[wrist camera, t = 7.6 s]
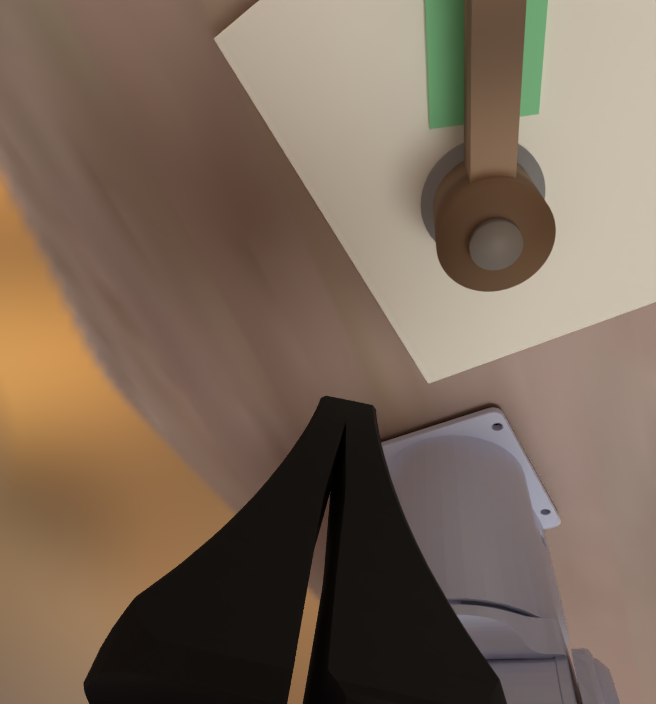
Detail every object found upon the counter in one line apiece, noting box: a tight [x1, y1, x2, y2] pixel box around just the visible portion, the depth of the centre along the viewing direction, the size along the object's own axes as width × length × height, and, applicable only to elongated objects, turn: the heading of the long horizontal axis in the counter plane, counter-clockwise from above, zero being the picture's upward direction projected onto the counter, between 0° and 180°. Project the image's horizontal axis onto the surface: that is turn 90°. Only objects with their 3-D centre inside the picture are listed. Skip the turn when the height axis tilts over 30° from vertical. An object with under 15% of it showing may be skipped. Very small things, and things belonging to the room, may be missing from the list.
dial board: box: [214, 0, 656, 384], centre depth 14 cm, size 15×20×2 cm
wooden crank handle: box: [433, 0, 556, 292], centre depth 13 cm, size 10×3×3 cm, turn 10°
